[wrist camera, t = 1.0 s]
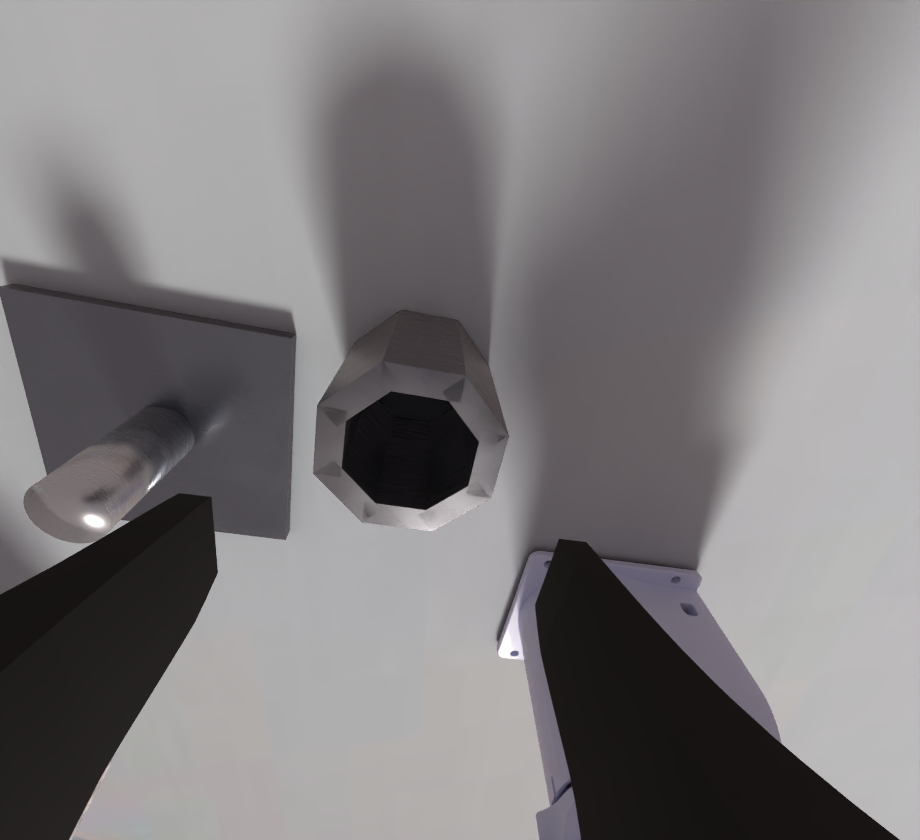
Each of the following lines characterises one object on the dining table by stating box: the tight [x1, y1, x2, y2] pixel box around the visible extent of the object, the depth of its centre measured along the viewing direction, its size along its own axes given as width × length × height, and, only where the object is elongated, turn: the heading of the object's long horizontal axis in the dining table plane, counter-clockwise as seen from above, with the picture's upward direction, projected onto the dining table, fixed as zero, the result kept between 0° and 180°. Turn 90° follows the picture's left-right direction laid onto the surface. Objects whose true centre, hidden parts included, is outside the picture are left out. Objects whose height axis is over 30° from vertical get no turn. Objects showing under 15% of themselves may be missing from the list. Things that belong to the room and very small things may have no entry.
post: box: [0, 284, 296, 543], centre depth 16 cm, size 10×10×6 cm
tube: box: [313, 310, 509, 531], centre depth 15 cm, size 5×5×6 cm
